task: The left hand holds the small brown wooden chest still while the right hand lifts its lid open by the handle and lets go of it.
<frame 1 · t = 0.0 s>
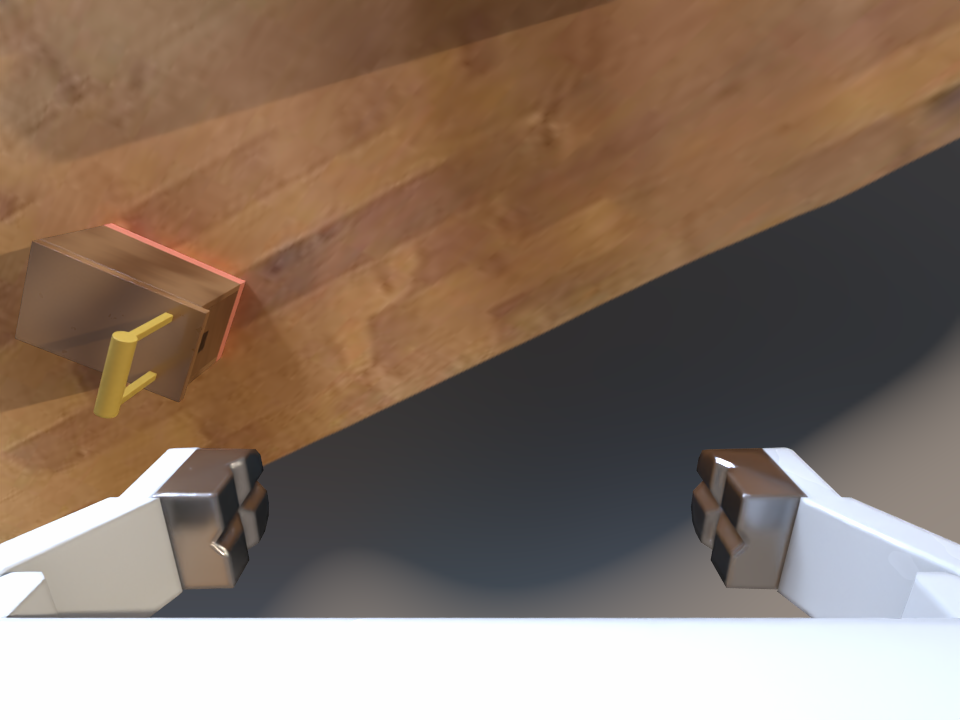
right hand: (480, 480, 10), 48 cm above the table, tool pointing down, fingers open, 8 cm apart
chest: (168, 293, 58), on the table
lid: (84, 338, 45), point 14 cm above the table, hinge at 0.0°
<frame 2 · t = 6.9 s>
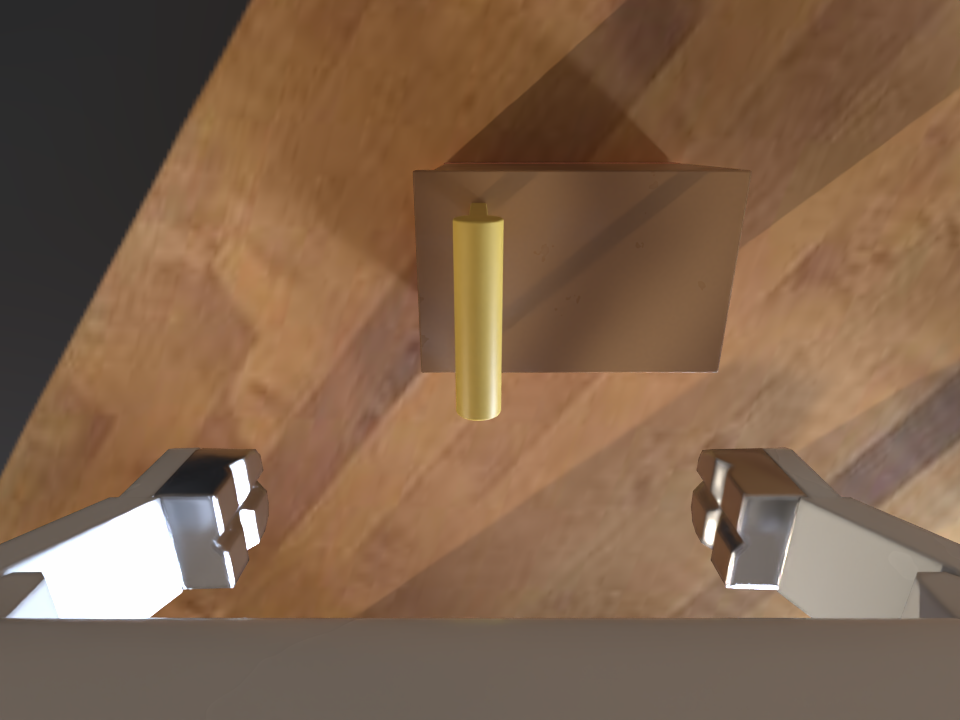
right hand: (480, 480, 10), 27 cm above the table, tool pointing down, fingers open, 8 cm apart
chest: (555, 241, 35), on the table
lid: (588, 296, 23), point 14 cm above the table, hinge at 0.0°
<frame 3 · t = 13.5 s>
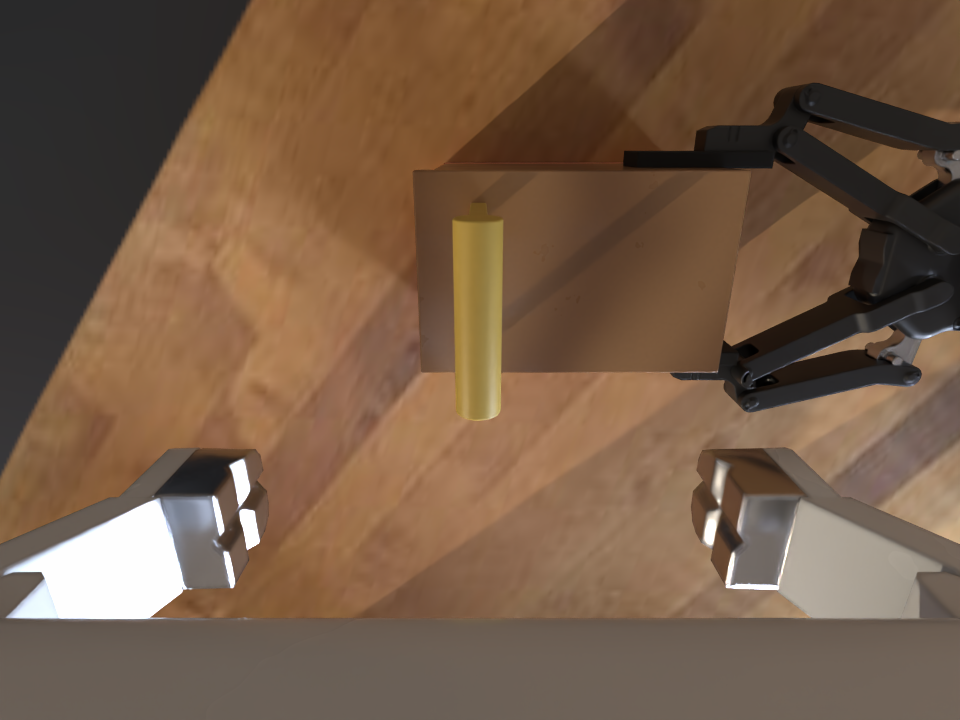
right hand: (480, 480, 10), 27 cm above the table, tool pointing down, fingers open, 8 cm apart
left hand: (620, 261, 29), fingers closed on chest, 9 cm apart
chest: (555, 241, 35), on the table, touching left hand
lid: (588, 296, 23), point 14 cm above the table, hinge at 0.0°
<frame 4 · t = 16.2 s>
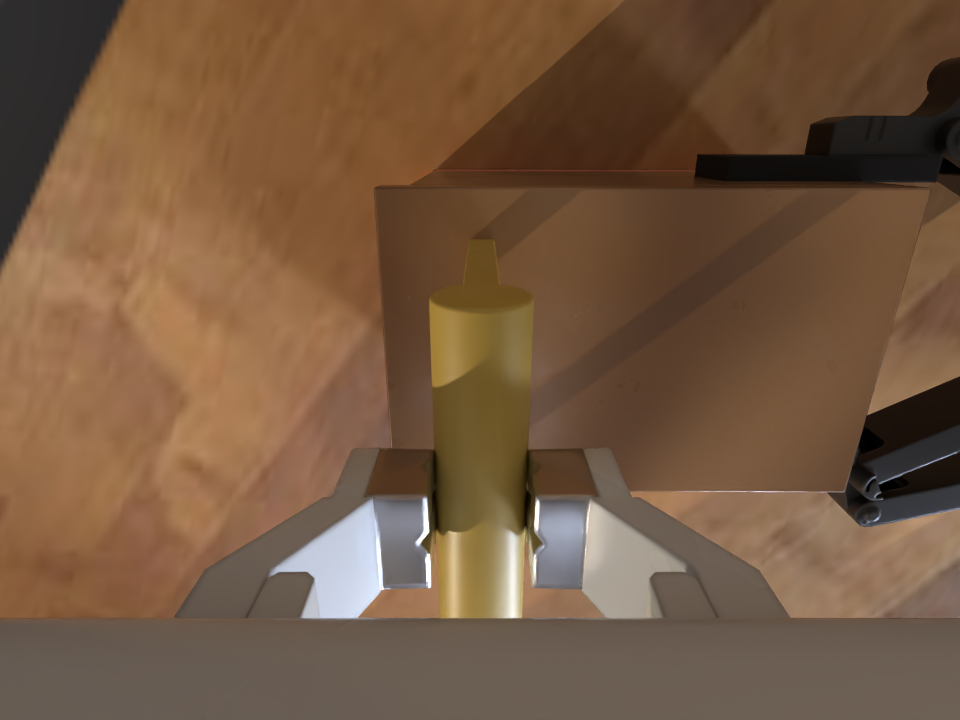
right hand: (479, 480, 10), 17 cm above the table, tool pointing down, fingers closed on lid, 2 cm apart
chest: (584, 275, 26), on the table, touching left hand
lid: (669, 405, 13), point 14 cm above the table, hinge at 0.0°, touching right hand
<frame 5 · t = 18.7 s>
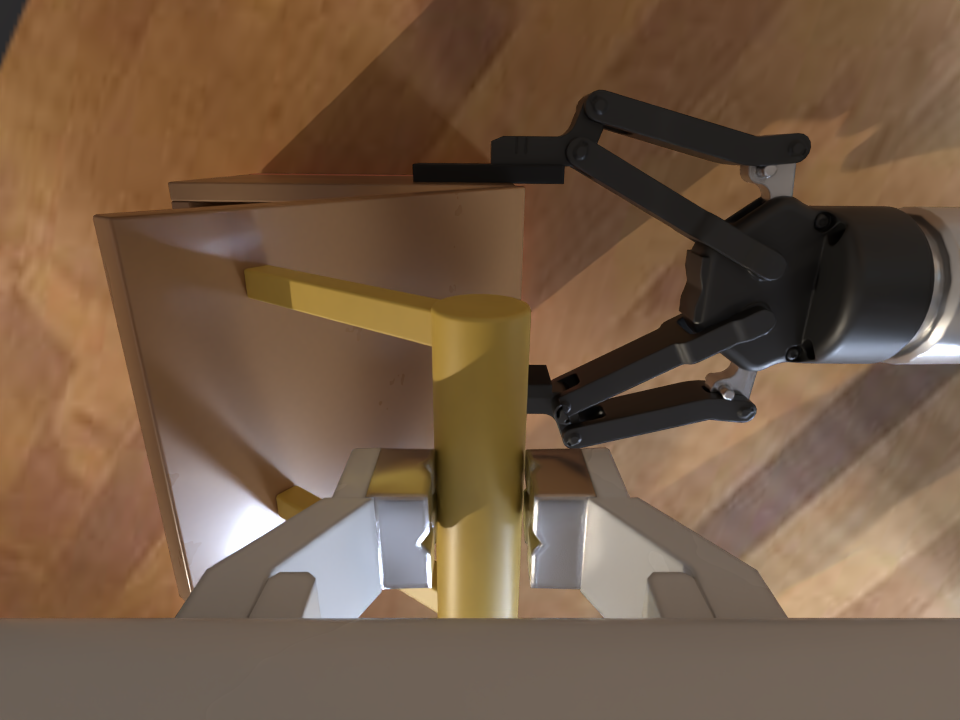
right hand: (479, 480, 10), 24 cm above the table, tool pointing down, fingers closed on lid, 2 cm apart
left hand: (419, 283, 27), fingers closed on chest, 9 cm apart
chest: (385, 258, 33), on the table, touching left hand
lid: (480, 375, 16), point 18 cm above the table, hinge at 53.5°, touching right hand
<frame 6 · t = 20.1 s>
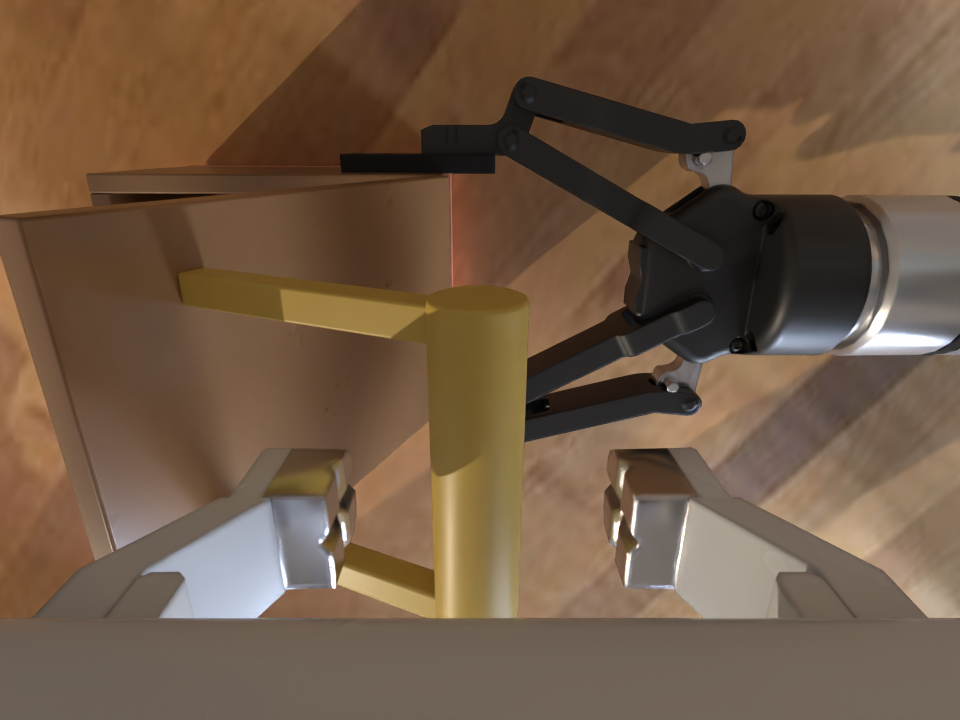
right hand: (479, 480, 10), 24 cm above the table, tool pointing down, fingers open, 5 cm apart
left hand: (357, 276, 26), fingers closed on chest, 9 cm apart
chest: (334, 251, 32), on the table, touching left hand
lid: (436, 371, 15), point 18 cm above the table, hinge at 65.7°
when the left hand's fingers open (6 cm above the table, at t = 23.3 s): chest stays where it is, on the table.
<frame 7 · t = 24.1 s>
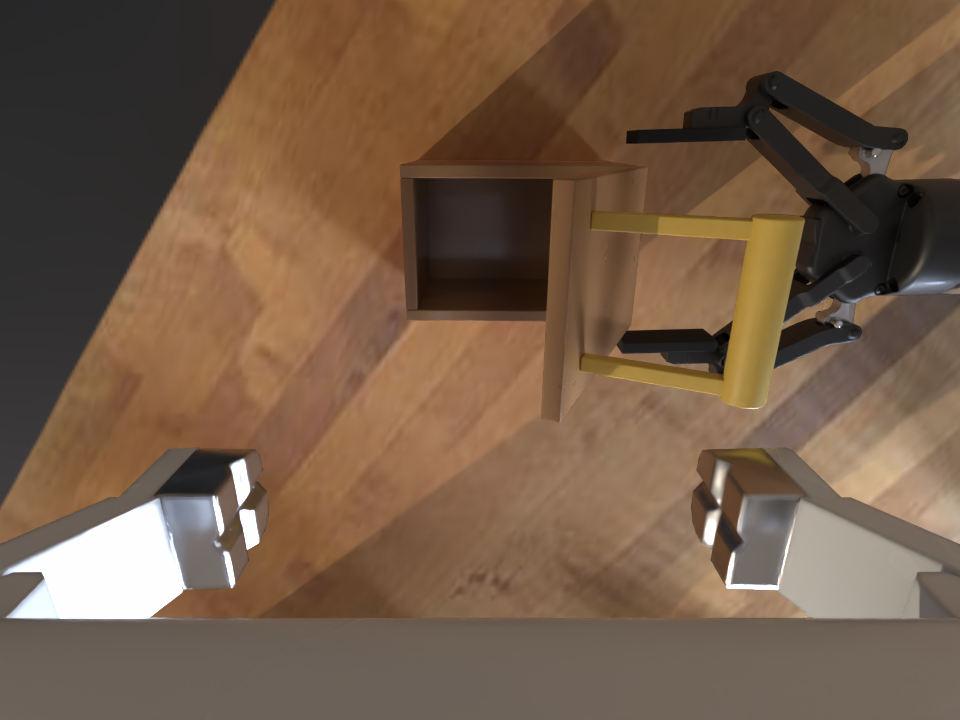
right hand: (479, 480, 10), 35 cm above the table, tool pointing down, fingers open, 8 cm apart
left hand: (623, 246, 37), fingers open, 13 cm apart
chest: (509, 225, 43), on the table
lid: (681, 280, 26), point 18 cm above the table, hinge at 64.8°
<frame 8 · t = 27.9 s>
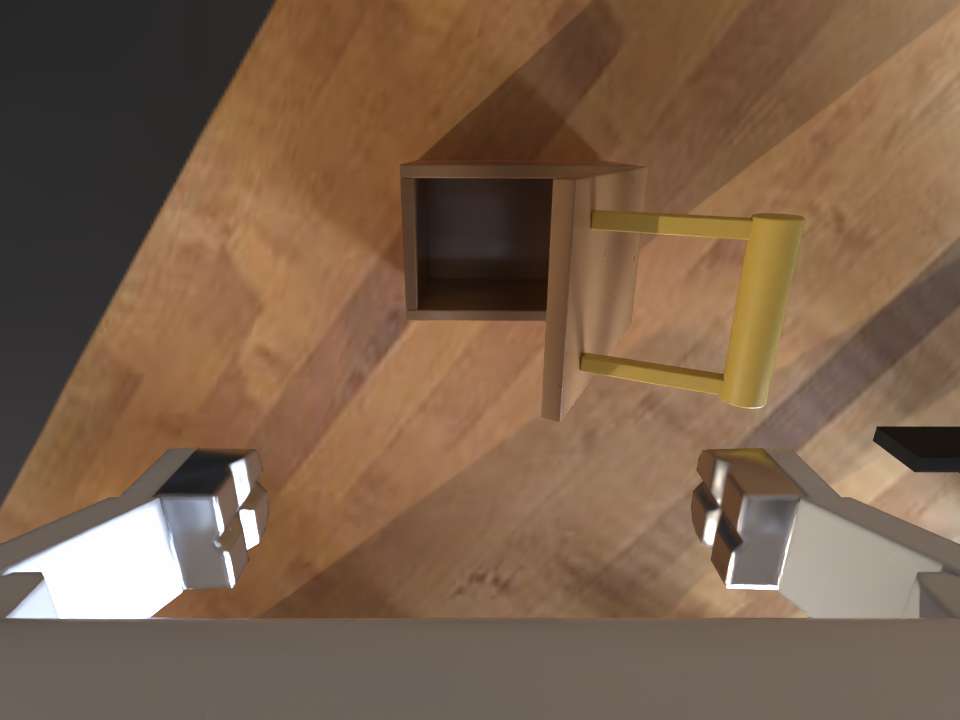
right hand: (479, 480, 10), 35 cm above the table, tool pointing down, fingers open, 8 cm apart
chest: (509, 225, 43), on the table
lid: (681, 280, 26), point 18 cm above the table, hinge at 64.8°
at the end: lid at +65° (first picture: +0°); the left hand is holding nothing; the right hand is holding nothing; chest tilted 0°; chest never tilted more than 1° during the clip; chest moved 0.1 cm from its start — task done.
